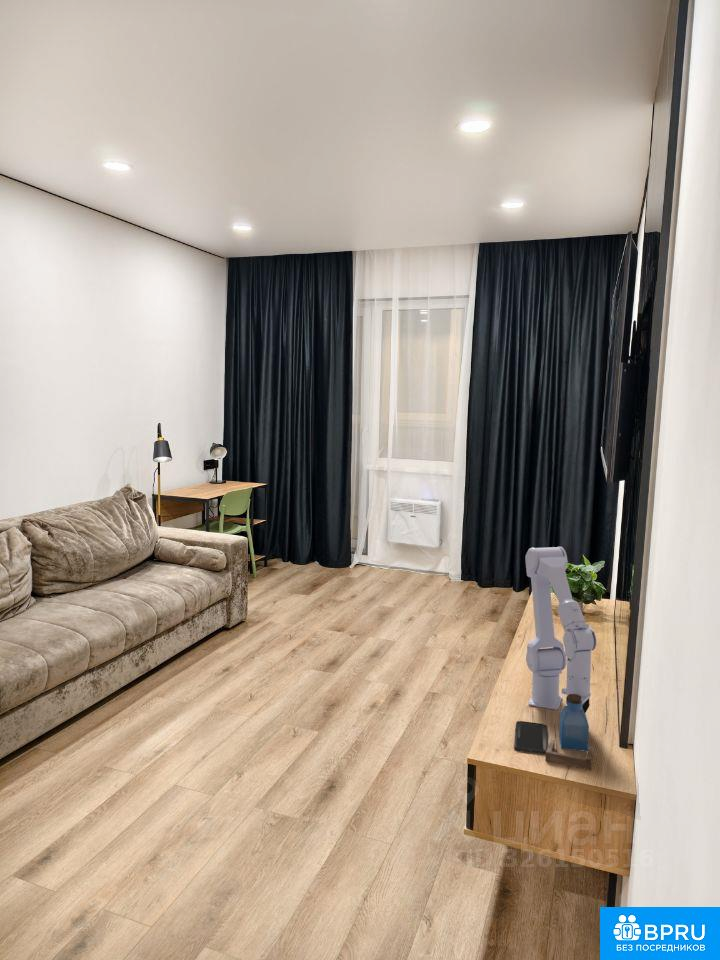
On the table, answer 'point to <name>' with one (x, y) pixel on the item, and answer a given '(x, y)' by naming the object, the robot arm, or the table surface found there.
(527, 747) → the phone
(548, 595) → the robot arm
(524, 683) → the table surface
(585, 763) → the bracket
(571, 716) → the perfume bottle
